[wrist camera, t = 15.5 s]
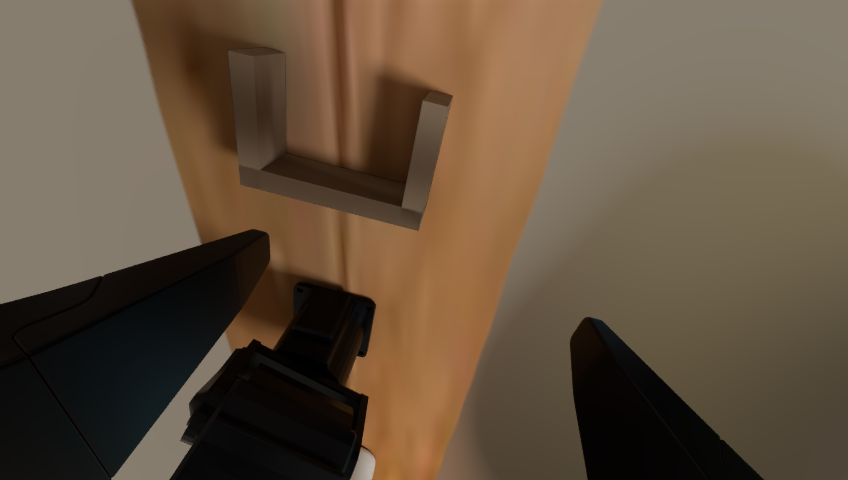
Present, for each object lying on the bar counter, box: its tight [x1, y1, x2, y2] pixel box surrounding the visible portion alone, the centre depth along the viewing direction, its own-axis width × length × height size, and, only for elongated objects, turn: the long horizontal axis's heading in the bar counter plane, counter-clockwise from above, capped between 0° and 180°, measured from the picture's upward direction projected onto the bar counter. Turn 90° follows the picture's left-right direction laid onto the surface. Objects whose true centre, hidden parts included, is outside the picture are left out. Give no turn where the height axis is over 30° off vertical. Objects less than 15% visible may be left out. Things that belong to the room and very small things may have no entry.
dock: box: [228, 47, 453, 231], centre depth 18 cm, size 7×10×3 cm, turn 78°
